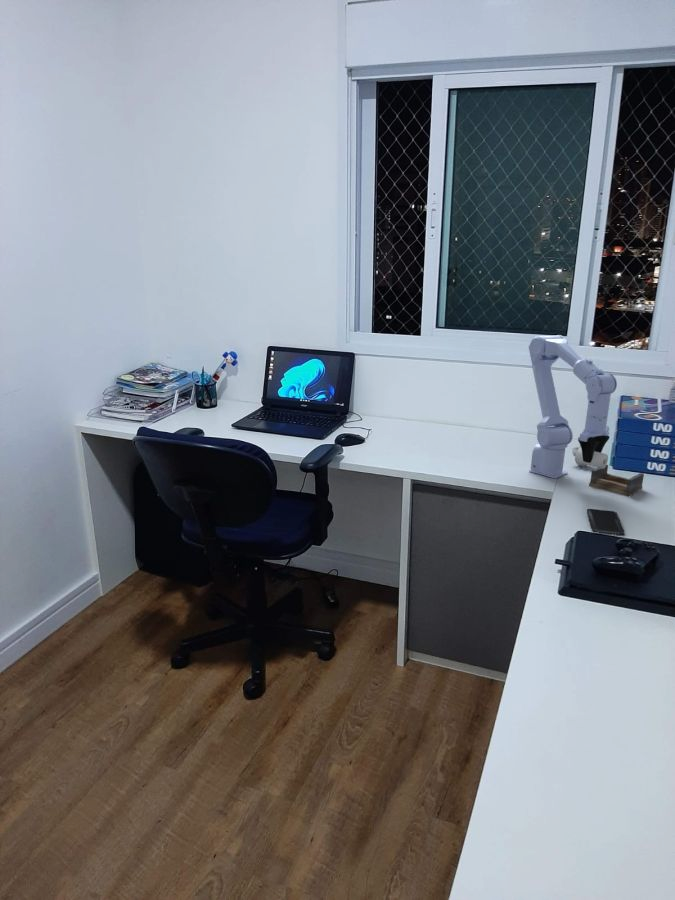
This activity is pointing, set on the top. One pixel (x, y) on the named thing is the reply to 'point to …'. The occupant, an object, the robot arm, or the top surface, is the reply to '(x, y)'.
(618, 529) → the phone
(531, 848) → the top surface
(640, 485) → the roll holder
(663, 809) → the top surface
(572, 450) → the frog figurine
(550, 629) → the top surface
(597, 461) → the paper roll
